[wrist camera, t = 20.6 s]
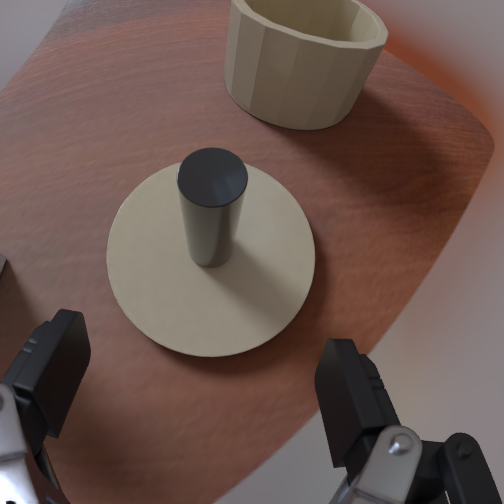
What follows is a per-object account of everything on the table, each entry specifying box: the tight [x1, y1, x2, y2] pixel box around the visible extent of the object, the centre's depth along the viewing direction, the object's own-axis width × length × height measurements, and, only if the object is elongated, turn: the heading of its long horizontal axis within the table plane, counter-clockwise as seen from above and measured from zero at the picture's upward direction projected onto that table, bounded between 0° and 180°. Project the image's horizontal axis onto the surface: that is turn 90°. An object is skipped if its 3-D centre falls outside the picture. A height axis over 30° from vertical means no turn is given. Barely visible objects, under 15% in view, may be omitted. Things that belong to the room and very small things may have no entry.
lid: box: [107, 148, 315, 357], centre depth 15 cm, size 12×12×9 cm
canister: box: [224, 0, 389, 130], centre depth 22 cm, size 12×12×8 cm
